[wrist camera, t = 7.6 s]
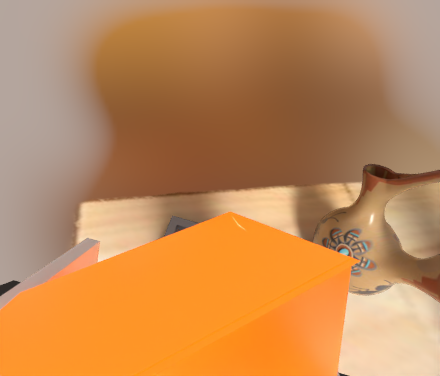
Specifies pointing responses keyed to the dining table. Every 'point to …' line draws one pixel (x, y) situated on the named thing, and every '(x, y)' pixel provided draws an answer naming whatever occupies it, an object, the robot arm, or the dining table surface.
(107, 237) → the dining table surface
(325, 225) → the ceramic vessel
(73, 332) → the orange juice
